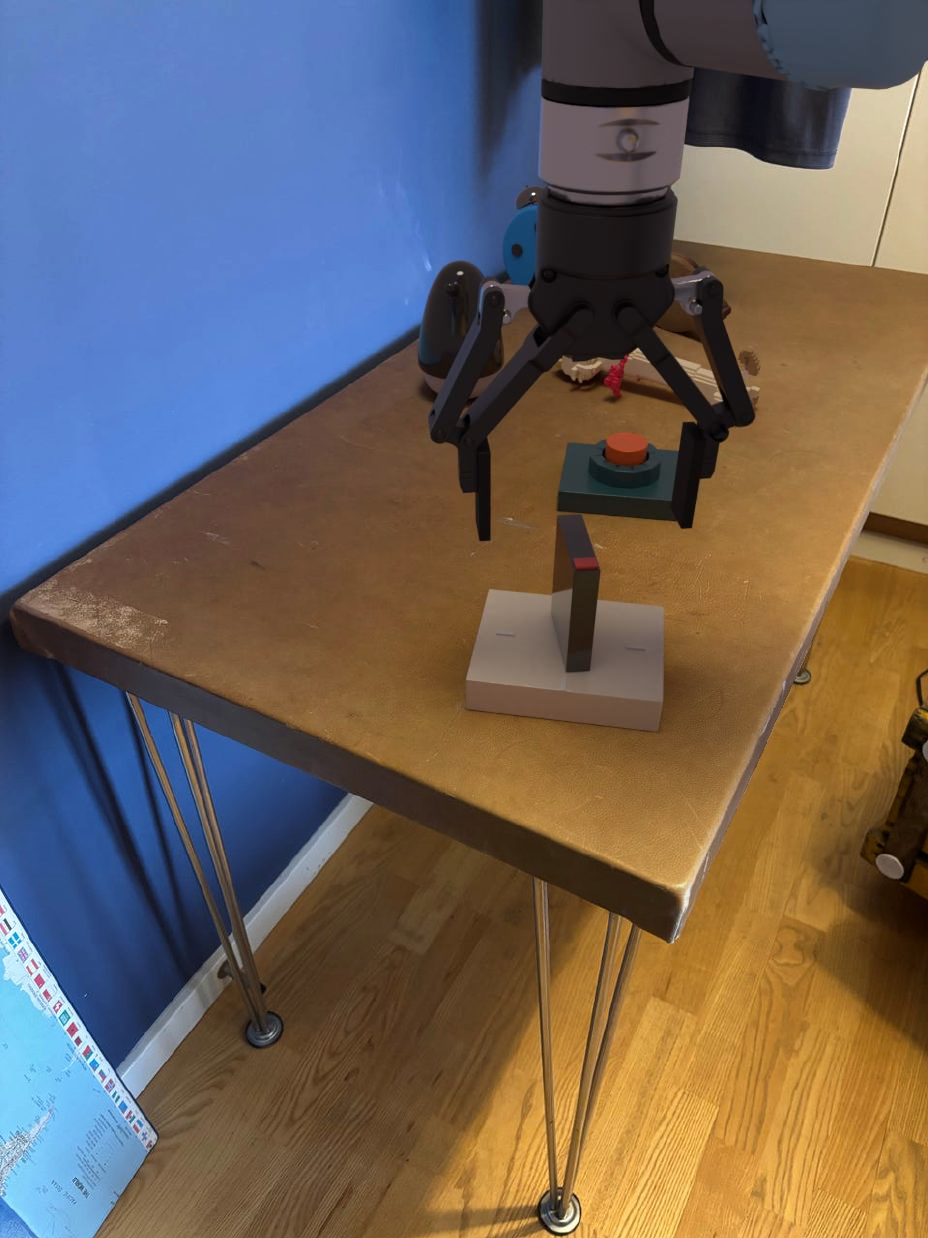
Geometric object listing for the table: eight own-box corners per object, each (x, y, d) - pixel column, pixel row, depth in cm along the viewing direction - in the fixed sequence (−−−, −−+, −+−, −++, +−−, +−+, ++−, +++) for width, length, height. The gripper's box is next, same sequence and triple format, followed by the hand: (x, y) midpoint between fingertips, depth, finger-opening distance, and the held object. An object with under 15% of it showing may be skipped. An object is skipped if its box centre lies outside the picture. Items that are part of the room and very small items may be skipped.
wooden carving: (733, 339, 121) (747, 263, 115) (714, 349, 119) (727, 271, 112) (634, 308, 130) (641, 236, 124) (614, 317, 128) (621, 243, 122)
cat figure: (758, 409, 108) (571, 349, 117) (780, 339, 102) (581, 282, 111) (729, 444, 101) (534, 377, 110) (750, 371, 95) (542, 307, 105)
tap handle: (550, 612, 71) (557, 512, 65) (573, 611, 71) (581, 510, 66) (565, 672, 66) (574, 568, 60) (590, 671, 66) (601, 567, 60)
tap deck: (659, 634, 74) (664, 603, 72) (657, 733, 65) (663, 701, 63) (488, 616, 76) (489, 586, 74) (465, 710, 67) (465, 678, 65)
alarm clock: (597, 301, 133) (606, 191, 123) (574, 314, 129) (582, 201, 119) (522, 283, 139) (526, 177, 129) (499, 295, 135) (501, 186, 126)
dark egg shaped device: (408, 405, 107) (401, 273, 97) (431, 369, 115) (427, 244, 105) (493, 414, 105) (494, 280, 95) (511, 376, 113) (514, 249, 103)
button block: (681, 469, 94) (687, 434, 92) (682, 521, 87) (688, 485, 84) (566, 460, 96) (568, 426, 94) (557, 510, 89) (559, 474, 86)
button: (646, 449, 90) (648, 433, 89) (645, 469, 87) (647, 453, 86) (605, 446, 91) (607, 430, 90) (603, 466, 88) (605, 449, 87)
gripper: (374, 214, 45) (400, 567, 58) (864, 194, 46) (781, 543, 60) (373, 178, 51) (397, 506, 64) (808, 161, 52) (744, 485, 65)
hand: (582, 524), depth 62 cm, fingers open, 13 cm apart
